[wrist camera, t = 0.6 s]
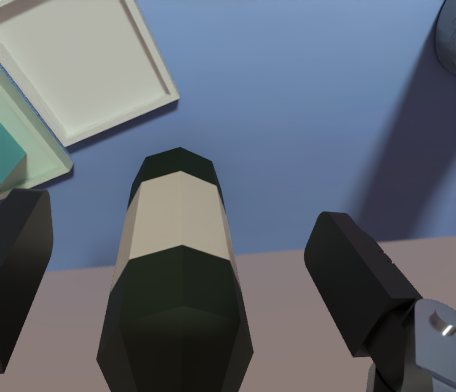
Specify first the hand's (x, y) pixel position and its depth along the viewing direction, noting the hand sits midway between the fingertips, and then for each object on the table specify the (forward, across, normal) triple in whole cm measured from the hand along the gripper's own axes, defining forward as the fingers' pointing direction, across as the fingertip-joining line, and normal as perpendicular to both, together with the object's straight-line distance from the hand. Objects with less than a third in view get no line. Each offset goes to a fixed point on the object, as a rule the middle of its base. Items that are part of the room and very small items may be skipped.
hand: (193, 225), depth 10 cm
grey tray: (+19, +6, 0) cm, 20 cm away
